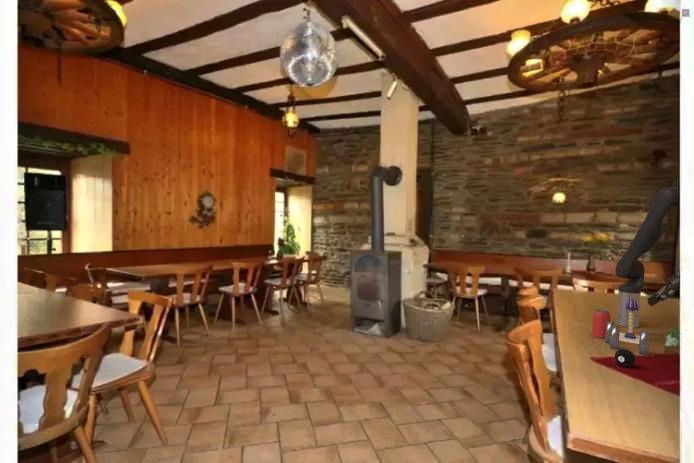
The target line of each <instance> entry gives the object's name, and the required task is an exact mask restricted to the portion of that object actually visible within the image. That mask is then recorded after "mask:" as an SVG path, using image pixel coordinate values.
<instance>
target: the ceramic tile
mask: <svg viewBox="0 0 694 463" xmlns="http://www.w3.org/2000/svg"><path fill="white" fill-rule="evenodd" d="M625 334H626V333H625V332H623V333H622V332H620V333H619V342H625V343H631V344H638V345H639V338H640V335H638V334H634V335H635V336H636V339H631V338H626V337H624V336H625Z"/></svg>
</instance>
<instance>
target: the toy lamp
mask: <svg viewBox="0 0 694 463" xmlns="http://www.w3.org/2000/svg"><path fill="white" fill-rule="evenodd" d="M625 308H626V309H629V324H628V325H629V327H627V328H628V330H627V331H628V332H626V333H625V336H624V337H626V338H631V339H636V336H635V335H636V334H635V333H634V328H633V319H634V317H633V316H634V310H638V305H637V302H636V300H628V301H627V304H626V307H625Z"/></svg>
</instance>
